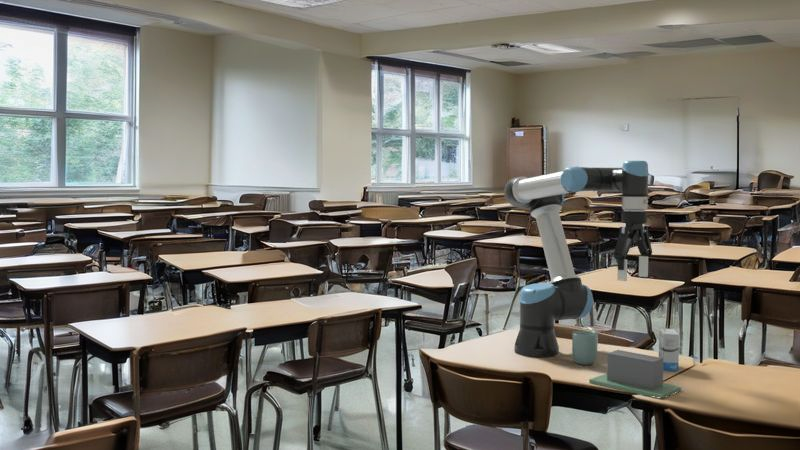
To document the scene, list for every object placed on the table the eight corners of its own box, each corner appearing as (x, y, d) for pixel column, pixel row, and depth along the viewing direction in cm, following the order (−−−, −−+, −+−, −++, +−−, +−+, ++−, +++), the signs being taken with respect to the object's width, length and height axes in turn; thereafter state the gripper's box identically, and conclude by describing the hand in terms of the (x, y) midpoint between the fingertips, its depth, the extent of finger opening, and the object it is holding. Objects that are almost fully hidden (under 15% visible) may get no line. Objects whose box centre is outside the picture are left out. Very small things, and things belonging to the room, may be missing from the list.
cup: (601, 363, 230) (601, 333, 230) (589, 368, 225) (590, 336, 224) (579, 359, 236) (580, 329, 235) (567, 363, 230) (568, 333, 229)
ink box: (678, 371, 221) (679, 334, 220) (662, 370, 222) (663, 333, 221) (673, 364, 229) (674, 328, 229) (657, 364, 230) (658, 328, 230)
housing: (607, 380, 207) (607, 353, 206) (617, 376, 211) (617, 349, 211) (652, 390, 197) (653, 361, 196) (662, 386, 201) (663, 358, 201)
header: (589, 382, 207) (589, 364, 207) (610, 375, 216) (610, 357, 216) (661, 399, 192) (662, 379, 192) (681, 390, 200) (681, 371, 200)
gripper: (625, 211, 209) (624, 283, 210) (664, 210, 226) (662, 276, 227) (602, 211, 214) (601, 281, 215) (642, 209, 231) (640, 274, 233)
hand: (632, 278), depth 221 cm, fingers open, 13 cm apart
